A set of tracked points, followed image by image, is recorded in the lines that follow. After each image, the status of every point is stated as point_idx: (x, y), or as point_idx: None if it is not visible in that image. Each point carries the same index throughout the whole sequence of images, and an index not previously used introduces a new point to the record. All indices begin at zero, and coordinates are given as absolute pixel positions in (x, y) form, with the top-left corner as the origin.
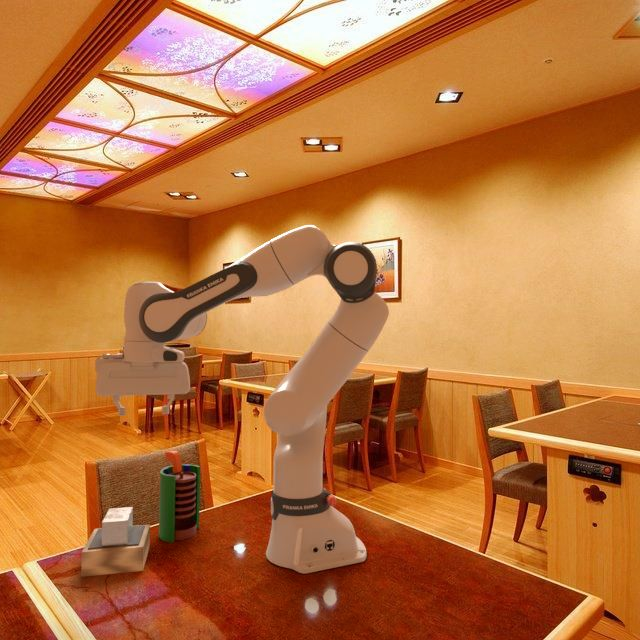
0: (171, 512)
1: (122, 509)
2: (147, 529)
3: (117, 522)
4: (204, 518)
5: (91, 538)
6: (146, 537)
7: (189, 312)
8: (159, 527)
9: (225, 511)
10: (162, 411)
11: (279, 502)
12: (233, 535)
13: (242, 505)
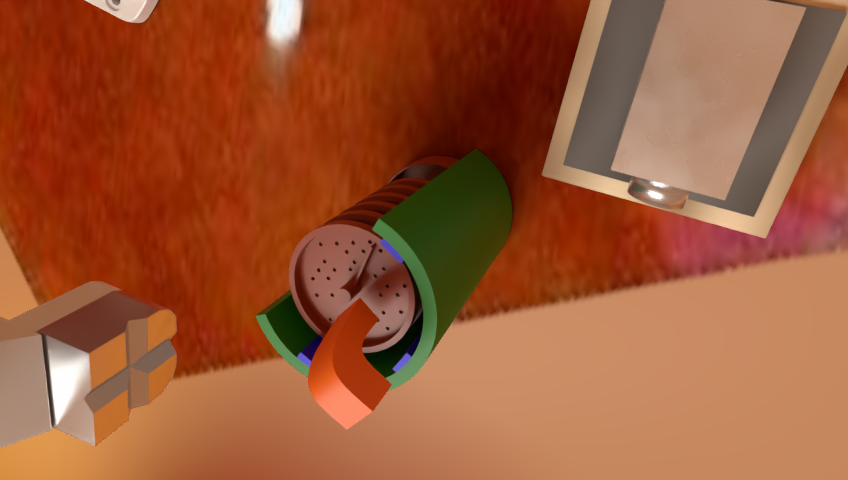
0: (449, 178)
1: (664, 157)
2: (558, 128)
3: None
4: None
5: (801, 136)
6: (574, 59)
7: None
8: (504, 219)
9: None
10: (140, 315)
11: None
12: (290, 113)
13: (237, 324)
